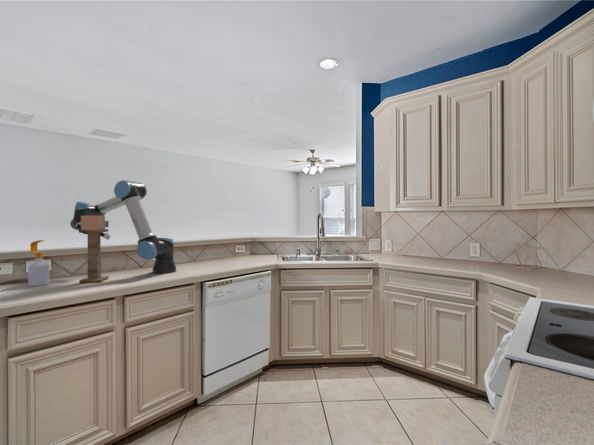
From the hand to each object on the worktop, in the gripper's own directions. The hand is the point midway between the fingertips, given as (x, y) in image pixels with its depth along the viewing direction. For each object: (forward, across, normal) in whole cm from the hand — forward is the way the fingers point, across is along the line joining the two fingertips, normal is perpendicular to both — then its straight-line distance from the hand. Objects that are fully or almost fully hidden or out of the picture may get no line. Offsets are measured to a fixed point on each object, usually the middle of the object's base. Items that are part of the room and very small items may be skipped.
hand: (98, 234), depth 199 cm
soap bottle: (+4, +18, -36) cm, 40 cm away
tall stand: (+18, -2, -25) cm, 30 cm away
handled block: (+7, +5, +3) cm, 10 cm away
